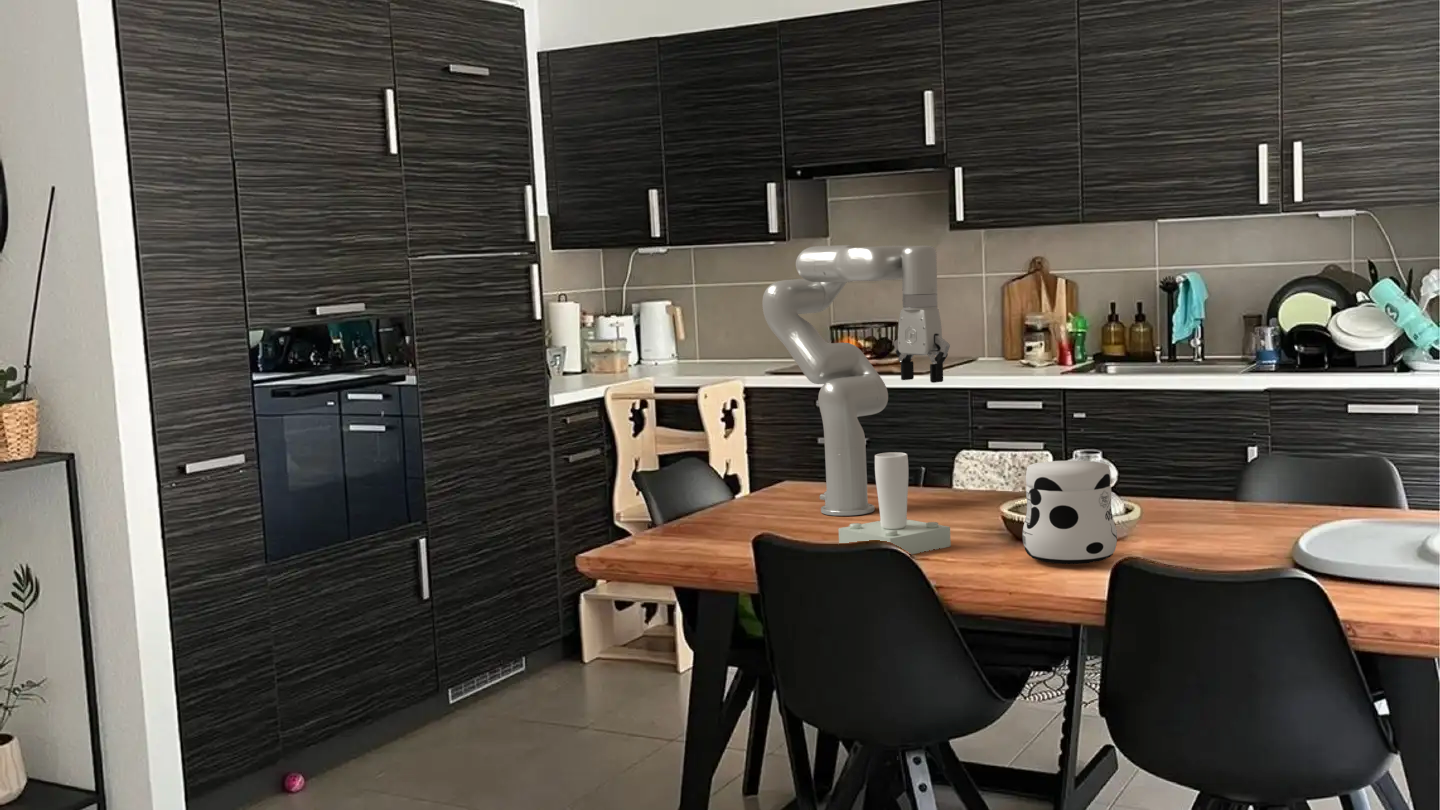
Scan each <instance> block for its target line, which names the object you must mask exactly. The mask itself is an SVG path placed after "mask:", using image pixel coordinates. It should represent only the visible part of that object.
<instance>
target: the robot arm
mask: <svg viewBox="0 0 1440 810" xmlns="http://www.w3.org/2000/svg"><path fill="white" fill-rule="evenodd" d="M937 259H938V258H937V250H936V248H935V247H934V246H932V245H879V246H877V245H876V246H875V245H874V246H859V247H856V246H854V245H851V244H840V245H838V244H837V245H816V246H815V245H814V246H813V245H812V246H810V247H807V248H805V249H803V250H802V251H801V252H800V253H799V254H798V256H797V257H796V260H795V269H796V272H797V273H798V275H799V276H800V277H801V278H797V279H796V278H794V279H783V280H778V281H776V282H773V283H771V284H769V286H767V287H766V289H765V291H764V292H763V295H762V303H761V304H762V313H763V316H764V319H765V322H766V324H767V326H768V328H769V329H770V330H771V332H772V333H773V334H774V335H775V336H776V338H777V339H778V340H779V341H780V342H781V343H782V344H783V346H784V347H785V348H786V350H787V352H788V353H789V354H790V356H791V358H792V359H793V360H794V362H795V363H796V364H797V366H798V367H799V369H800V371H801V372H802V374H803V375H804V376H805V377H806V379H808V381H809V382H810V383H812V384H814V385H822V386H821V388H820V390H819V392H818V399H817V401H818V407H819V412H820V415H821V420H822V426H823V439H824V458H825V459H824V460H825V461H824V462H825V481H826V482H825V485H826V490H825V491H824V493H821V494H820V495H819V500H823V501H824V505H822V506H821V507H820V513H822V514H823V515H828V516H836V517H837V516H838V517H839V516H840V517H844V516H846V517H847V516H859V515H860V516H862V515H866V514H870V513H873V512H875V505H874V504H872V503H869V501H868V476H867V452H866V451H867V450H866V448H867V447H866V437H865V432H864V429H863V427H862V425H861V423H860V421H859V419H858V418H859V417H865V416H872V415H876V414H878V413H880V412H882V411H883V410H884V409H885V408H886V407H887V405H888V401H889V393H888V392H889V391H888V389H887V385H886V383H885V381H884V379H883V378H882V377H881V375H880V374H879V373H878V372H877V370H876V369H875V367H874V366H873V365H872V363H871V362H870V360H869V358H867V356H866V355H865V354H864V353H863V351H862V349H860V348H859V347H858V346H856V345H854V343H853V344H852V343H850V342H832V343H831V342H828V341H826V340H825V339H824V338H823V336H821V334H820V333H819V331H818V329H817V328H815V326H814V325H813V324H812V323H810V322H809V321H808V320H806V319H804V318H803V317H802V316H800V315H805V314H806V315H807V314H816V313H817V314H818V313H821V312H824V311H825V310H827V309H828V308H829V307H830V306H831V305H832V304H833V302H834V301H835V299H836V298H837V297H838V295H839V294H840V292H841V291H842V290H843V288H844V287H845V285H847V283H853V282H879V281H896V280H899V281H900V280H901V281H902V282H901V283H902V284H901V285H902V286H901V287H902V309H900V313H899V320H898V328H897V329H898V331H897V338H896V340H894V341H893V346H894V349H895V354H896V356H897V357H898V362H899V363H900V380H901V381H910V380H913V379H914V376H915V375H914V374H915V373H914V372H915V371H914V361H913V360H912V359H913V358H914V356H927V357H928V359H929V360H930V362H931V363H930V364H929V376H930V377H929V378H930V383H933V384H935V383H942V382H944V364H945V362H946V358H947V357H948V353H949V350H950V348H951V344H950V342H948V341H946V340H945V339H944V338H943V331H942V321H941V315H940V310H939V307H938V305H939V304H938V302H939V301H938V274H937V273H938V268H937V267H938V266H937V264H938V261H937Z"/></svg>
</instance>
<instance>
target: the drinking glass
mask: <svg viewBox="0 0 1440 810" xmlns="http://www.w3.org/2000/svg"><path fill="white" fill-rule="evenodd" d="M908 458H909V457H908V453H905V452H896V451H895V452H882V453H877V454H874V476H875V485H876V486H875V487H876V493H877V501H878V509H879V518H880V519H879V521H880V524H881V527H882V528H884V529H902V528H905V527H906V525H907V518H908V515H907V514H908V512H907V511H908V495H909V493H908V492H909V459H908Z"/></svg>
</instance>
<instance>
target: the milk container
mask: <svg viewBox="0 0 1440 810" xmlns="http://www.w3.org/2000/svg"><path fill="white" fill-rule="evenodd" d="M1025 472H1026V473H1025V483H1026V484H1025V485H1026V487H1025V496H1026V515H1025V520H1024V524H1023V527H1022V543H1023V546H1024V550H1025V552H1026V554H1027V555H1028V556H1029V557H1030V558H1032V559H1033V560H1036V561H1039V562H1043V563H1047V564H1048V563H1049V564H1055V565H1084V564H1093V563H1098V562H1101V561H1105V560H1106V559H1110V558H1111V557H1112V556H1113V555H1114V553H1115V551H1116V547H1117V542H1118V529H1117V527H1116V524H1115V523H1116V522H1115V520H1114V516H1113V512H1112V511H1113V510H1112V485H1111V482H1112V477H1111V476H1112V475H1111V468H1110V465H1109V464H1107V463H1104V462H1100V461H1099V462H1098V461H1090V460H1052V461H1051V460H1050V461H1044V462H1036V463H1032V464H1029V465H1027V467H1026V471H1025Z"/></svg>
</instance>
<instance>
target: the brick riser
mask: <svg viewBox="0 0 1440 810" xmlns="http://www.w3.org/2000/svg"><path fill="white" fill-rule="evenodd" d="M869 540H880V541H887V542H891V543H893V544H895V545H897V546H899V547H901V548H902V549H904V550H906V551H908V552H909V553H911V555H915V554H919V553H920V552H921V553H925V552H924V551H926V552H929V550H930V551H934V550H933V549H935V550H939V548H940V549H944V548H949V547H952V546H951V544H952V543H951V540H952V539H951V526H948V525H942V524H939V522H936V521H929V522H925V521H924V522H923V521H918V520H913V519H907V525H906V527H905V528H902V529H884V528H882V527H881V524H880V520H877V521H871V522H866V523H858V522H857V523H849V525H848V526H843V527H839V528H838V544H839V543H849V542H857V541H869Z"/></svg>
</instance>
